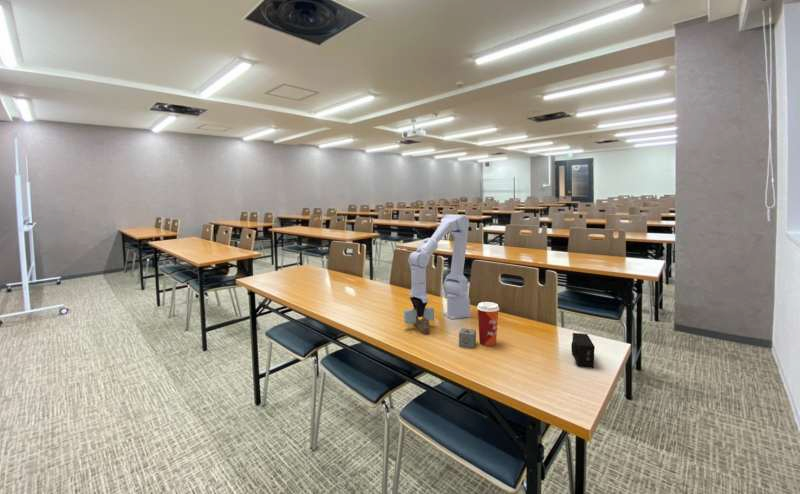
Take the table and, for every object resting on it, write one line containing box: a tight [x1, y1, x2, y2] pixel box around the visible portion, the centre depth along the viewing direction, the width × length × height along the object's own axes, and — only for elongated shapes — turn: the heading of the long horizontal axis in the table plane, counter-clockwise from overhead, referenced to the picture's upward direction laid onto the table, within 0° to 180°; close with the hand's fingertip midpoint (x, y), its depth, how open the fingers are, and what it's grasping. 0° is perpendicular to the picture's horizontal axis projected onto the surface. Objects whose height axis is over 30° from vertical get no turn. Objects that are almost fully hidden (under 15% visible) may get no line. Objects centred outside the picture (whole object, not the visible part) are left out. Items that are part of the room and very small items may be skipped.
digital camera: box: [570, 332, 595, 369], centre depth 113 cm, size 10×5×7 cm, turn 164°
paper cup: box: [476, 301, 500, 347], centre depth 128 cm, size 8×8×14 cm
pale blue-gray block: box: [403, 306, 435, 325], centre depth 144 cm, size 12×2×5 cm, turn 108°
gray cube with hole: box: [458, 327, 477, 349], centre depth 127 cm, size 5×5×5 cm
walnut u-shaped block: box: [411, 316, 430, 336], centre depth 145 cm, size 16×2×5 cm, turn 18°
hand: (419, 315), depth 144 cm, fingers closed on pale blue-gray block, 2 cm apart
